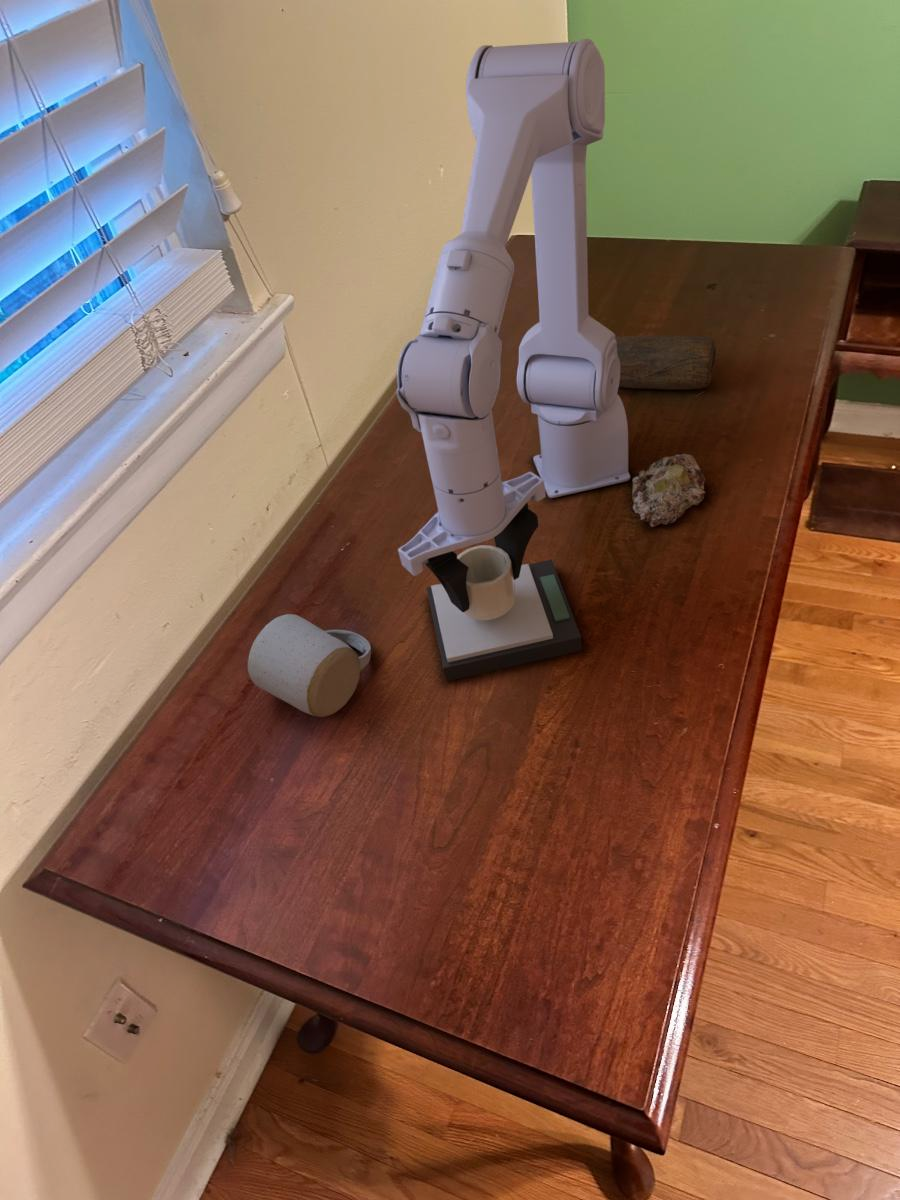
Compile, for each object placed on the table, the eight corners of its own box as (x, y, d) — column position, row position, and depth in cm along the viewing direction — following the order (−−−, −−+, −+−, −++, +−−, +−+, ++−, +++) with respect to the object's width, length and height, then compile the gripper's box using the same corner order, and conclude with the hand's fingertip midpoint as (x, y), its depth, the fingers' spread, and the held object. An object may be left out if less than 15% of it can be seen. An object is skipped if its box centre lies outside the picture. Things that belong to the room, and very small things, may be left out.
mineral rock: (642, 445, 96) (711, 440, 91) (652, 476, 99) (720, 473, 94) (607, 506, 90) (679, 505, 85) (619, 537, 93) (690, 537, 88)
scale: (552, 573, 87) (551, 554, 86) (582, 650, 80) (580, 632, 78) (429, 601, 87) (425, 583, 86) (446, 681, 80) (442, 663, 78)
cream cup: (492, 571, 83) (486, 537, 80) (527, 599, 80) (522, 565, 77) (447, 599, 82) (440, 565, 78) (481, 629, 78) (475, 595, 75)
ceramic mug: (323, 737, 77) (301, 683, 72) (260, 703, 81) (234, 649, 76) (394, 659, 83) (378, 604, 77) (332, 630, 87) (313, 576, 81)
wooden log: (714, 370, 109) (718, 321, 104) (711, 400, 104) (715, 351, 99) (597, 369, 113) (595, 322, 108) (588, 398, 108) (586, 351, 104)
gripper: (504, 416, 75) (518, 532, 85) (367, 492, 70) (399, 605, 80) (556, 448, 71) (566, 566, 80) (414, 531, 66) (442, 647, 75)
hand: (485, 589), depth 80 cm, fingers closed on cream cup, 5 cm apart
